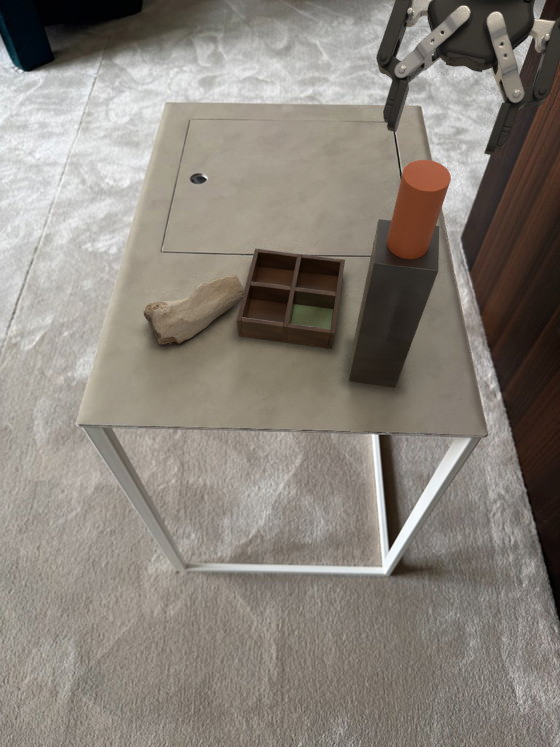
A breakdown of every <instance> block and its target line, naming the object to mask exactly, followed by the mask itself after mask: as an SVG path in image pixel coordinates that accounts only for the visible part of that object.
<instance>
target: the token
mask: <svg viewBox="0 0 560 747" xmlns="http://www.w3.org/2000/svg"><path fill="white" fill-rule="evenodd" d="M451 179H452V176H451V172H450V171H449V170H448V168H447V167H446V166H445V165H443V164H442V163H440V162H438V161H435V160H430V159H416V160H413V161H411V162H408V163H407V164H406V165H405V166H404V168H403V170H402V173H401V177H400V181H399V185H398V186H399V187H398V192H397V195H396V199H395V205H394V208H393V214H392V216H391V219H390V220H391V225H390V229H389V233H388V238H387V246H388V248H389V250H390V251H391V252H392V253H393V254H394V255H396V256H398V257H400V258H404V259H416V258H419V257H422V256H423V255H424V254H425V253H426V252H427V250H428V248H429V245H430V242H431V239H432V236H433V233H434V229H435V226H437V223H438V220H439V218H440V213H441V212H442V211H441V210H442V209H443V205H444V201H445V199H446V196H447V193H448V190H449V187H450V184H451V181H452V180H451Z"/></svg>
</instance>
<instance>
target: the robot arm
mask: <svg viewBox="0 0 560 747" xmlns="http://www.w3.org/2000/svg"><path fill="white" fill-rule="evenodd" d="M535 3H536V0H394V3H393V7H392V9H391V12H390V16H389V18H388V21H387V25H386V27H385V30H384V33H383V36H382V38H381V42H380V45H379V47H378V50H377V53H376V57H375V58H376V59H375V60H376V63H377V67H378V71H379V72H380V74H382V75H385V76H387V77H388V78H389V79H391V84H390V87H389V90H388V93H387V96H386V100H385V104H384V108H383V110H382V114H383V121H384V123H386V128H387V131H389V132H394V133H396V132H397V131H398V127H399V124H400V121H401V118H402V115H403V112H404V108H405V105H406V101H407V98H408V95H409V92H410V84H411V82H412V81H414V80H415V78H417V77H418V76H419V75H421V74H422V73H423V72H425V71H427V70H428V69H429V68H431V67H432V66H433V65H434V64H435V63H436V62H438V61H439V60H441V61H443V63H445V66H449V67H453V68H454V67H455V68H456V67H458V68H459V67H465V68H466V69H469V70H471V71H473V72H478V73H483V71H487V70H490V69H491V71H492V74H493V77H494V80H495V84H496V86H497V87H498V89H499V93H500V96H501V98H502V103H501V104H500V107H499V109H498V111H497V112H498V113H497V115H496V116H495V117H496V118H495V120H494V123H493V126H492V129H491V132H490V135H489V137H488V141H487V143H486V146H485V149H484V152H483V154H485V155H489V156H493V155H494V153H495V151H496V150H502V149H503V147H504V146H505V145H506V143H507V142H508V139H509V138H510V137H509V136H510V134H511V131H512V128H513V126H514V122H515V120H516V117H517V114H518V112H519V111H520V110H521V109H523V108H524V109H525V108H529V107H532V108H539V107H541V106H542V105H543V104H544V102H545V101H546V99H547V98H548V97H549V95H550V94H551V90H552V87H553V84H554V81H555V78H556V74H557V71H558V67H559V65H560V16H559V17H558V18H556V19H555V20H551V19H543V18H535V13H534V7H535ZM425 16H426V17H427V23H428V26H429V29H430V32H429V34H427V35H426V36H425V37H424V38H423V39H422V40H420V42H418V43H417V44H416V46H415V48H414V49H413V50H412V51H411V52H409V53H408V54H407V55H406V56H405V57H404V58H403V59H402V60H400V59H398V57H397V56H398V54H399V50H400V48H401V45H402V42H403V39H404V36H405V34H406V30H407V28H412V27H415V26H416V24H417V22H418V21H419V19H420V18H422V17H425ZM529 36H530V37H532V38H533V39H534V42H535V44H534V49H535V51H536V52H537V53H539V54H541V56H540V61H539V63H538V67H537V71H536V74H535V78H534V81H533V83H532V85H529V86H523V83H522V80H521V77H520V74H519V70H518V69H519V68H518V62H517V58H516V57H515V56H516V55H515V53H514V50H515V49H516V48H518V47H519V46H520V45H521V44H522V43H523V42H525V41H526V40H527V39H528V38H529Z"/></svg>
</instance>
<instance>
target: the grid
mask: <svg viewBox="0 0 560 747" xmlns="http://www.w3.org/2000/svg"><path fill="white" fill-rule="evenodd" d="M345 264H346V259H343V258H336V257H328V256H320V255H313V254H311V255H310V254H304V253H296V252H288V251H281V250H272V249H263V248H255V247H254V250H253V254H252V259H251V263H250V266H249V271H248V275H247V278H246V281H245V285H244V286H245V287H244V289H243V290H244V291H243V298H242V300H241V301H240V305H239V310H238V313H237V317H236V326H237V334H238V337H244V338H252V339H257V340H258V339H259V340H263V341H264V340H266V341H273V342H281V343H286V344H287V343H288V344H294V345H302V346H307V347H316V348H322V349H323V348H324V349H331V350H333V348H334V342H335V336H336V330H337V329H336V328H337V320H338V314H339V313H338V312H339V306H340V301H341V300H340V299H341V292H342V285H343V277H344V270H345Z"/></svg>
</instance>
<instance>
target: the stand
mask: <svg viewBox="0 0 560 747" xmlns="http://www.w3.org/2000/svg"><path fill="white" fill-rule="evenodd" d="M391 220H392V219H384V218H378V220H377V225H376V229H375V235H374V238H373V244H372V249H371V254H370V259H369V264H368V268H367V273H366V277H365V278H366V279H365V283H364V288H363V293H362V297H361V303H360V308H359V311H358V317H357V322H356V327H355V332H354V335H353V336H354V337H353V340H352V348H351V357H350V364H349V365H350V366H349V373H348V381H349V382H353V383H360V384H367V385H375V386H382V387H388V388H396V387H397V385H398V382H399V379H400V377H401V374H402V371H403V368H404V366H405V364H406V360H407V357H408V355H409V351H410V350H411V347H412V344H413V342H414V338H415V336H416V334H417V330H418V328H419V324H420V322H421V320H422V316H423V314H424V311H425V309H426V306H427V303H428V301H429V297H430V295H431V292H432V290H433V287H434V284H435V281H436V279H437V276H438V272H439V267H440V266H439V263H440V262H439V261H440V260H439V258H440V256H439V255H440V226H439V225H436V226H435V229H434V233H433V236H432V239H431V242H430V245H429V248H428V250H427V252H426V253H425V254H424V255H423V256H422V257H419V258H416V259H404V258H400V257H398V256H396V255H394V254H393V253H392V252H391V251H390V250H389V248H388V246H387V238H388V233H389V229H390V225H391Z"/></svg>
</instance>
